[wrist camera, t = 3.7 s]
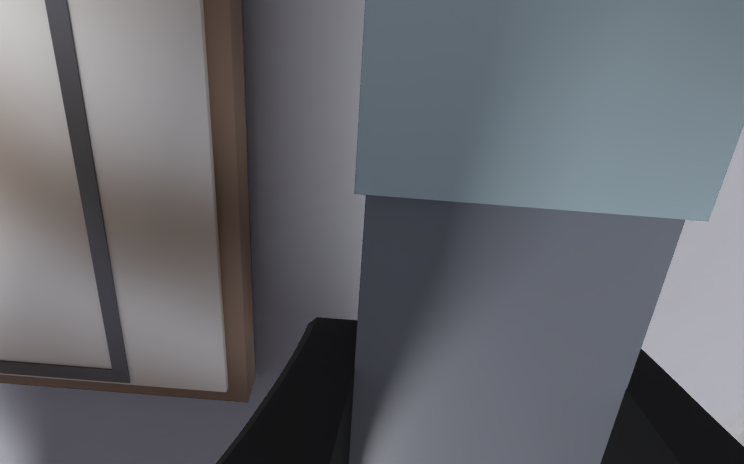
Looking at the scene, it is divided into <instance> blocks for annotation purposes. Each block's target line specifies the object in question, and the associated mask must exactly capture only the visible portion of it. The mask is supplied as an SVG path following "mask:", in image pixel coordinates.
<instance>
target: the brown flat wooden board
mask: <svg viewBox="0 0 744 464" xmlns="http://www.w3.org/2000/svg"><path fill="white" fill-rule="evenodd" d="M254 380H255V351H254V324H253V297H252V270H251V243H250V215H249V188H248V161H247V134H246V107H245V79H244V52H243V25H242V0H0V383H9V384H22V385H35V386H47V387H60V388H72V389H85V390H98V391H110V392H123V393H136V394H148V395H161V396H173V397H186V398H199V399H211V400H224V401H236V402H248V400H249V397H250V393H251V390H252V386H253V383H254Z"/></svg>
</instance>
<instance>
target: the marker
mask: <svg viewBox="0 0 744 464" xmlns="http://www.w3.org/2000/svg"><path fill="white" fill-rule="evenodd" d="M743 126H744V0H365V15H364V33H363V50H362V68H361V86H360V103H359V121H358V139H357V157H356V174H355V192H354V194H363V195H366V201H365V216H364V231H363V246H362V262H361V277H360V292H359V307H358V322H357V337H356V352H355V367H354V368H355V375H354V391H353V406H352V422H351V437H350V452H349V464H600V463H601V460H602V457H603V454H604V451H605V449H606V446H607V443H608V440H609V437H610V434H611V431H612V428H613V425H614V422H615V419H616V416H617V414H618V411H619V408H620V405H621V402H622V399H623V396H624V393H625V390H626V389H627V387H628V384H629V381H630V378H631V375H632V372H633V369H634V367H635V364H636V361H637V358H638V355H639V352H640V349H641V346H642V343H643V341H644V338H645V335H646V332H647V329H648V326H649V323H650V320H651V317H652V315H653V312H654V309H655V306H656V303H657V300H658V297H659V294H660V292H661V289H662V286H663V283H664V280H665V277H666V274H667V271H668V268H669V266H670V263H671V260H672V257H673V254H674V251H675V248H676V245H677V242H678V240H679V237H680V234H681V231H682V228H683V225H684V222H685V220H697V221H709V218H710V215H711V213H712V210H713V207H714V205H715V202H716V199H717V196H718V194H719V191H720V188H721V186H722V183H723V180H724V177H725V175H726V172H727V169H728V166H729V164H730V161H731V158H732V156H733V153H734V150H735V147H736V145H737V142H738V139H739V136H740V134H741V131H742V128H743Z"/></svg>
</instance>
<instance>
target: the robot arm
mask: <svg viewBox="0 0 744 464" xmlns="http://www.w3.org/2000/svg"><path fill="white" fill-rule="evenodd" d="M357 322H358V321H357V320H344V319H331V318H318V317H317V318H316V319H314V320H313V321H312V322H310V323H309V324H308V326H307V328H306V330H305V333H304V335H303V337H302V339H301V340H300V342H299V344H298V346H297V348H296V350H295V351H294V353H293V355H292V357H291V358H290V360H289V362H288V363H287V365H286V367H285V368H284V370H283V371H282V373H281V374H280V376H279V378H278V379H277V381H276V382H275V384H274V385H273V387H272V388H271V390H270V391H269V393H268V394H267V396H266V397H265V398H264V400H263V401H262V403H261V404H260V406H259V407H258V408H257V410H256V411H255V413H254V414H253V416H252V417H251V418H250V420H249V421H248V423H247V424H246V426H245V427H244V428H243V430H242V431H241V432H240V434H239V435H238V436H237V438H236V439H235V440H234V442H233V443H232V444H231V445H230V447H229V448H228V449H227V450H226V452H225V453H224V454H223V455H222V457H221V458H220V459H219V461H218V462H217V463H216V464H349V452H350V437H351V422H352V406H353V391H354V375H355V368H354V367H355V352H356V337H357ZM600 464H744V447H743V446H742V445H741V444H740V443H739V442H738V441H737V440H736V439H735V438H734V437H733V436H732V435H731V434H729V433H728V432H727V431H726V430H725V429H724V428H723V427H722V426H721V425H720V424H719V423H718V422H717V421H716V420H715V419H714V418H713V417H712V416H711V415H710V414H709V413H708V412H706V411H705V410H704V409H703V408H702V407H701V406H700V405H699V404H698V403H697V402H696V401H695V400H694V399H693V398H692V397H691V396H690V395H689V394H688V393H687V392H686V391H685V390H684V389H683V388H682V387H681V386H680V385H679V384H678V383H677V382H676V381H675V380H673V379H672V378H671V377H670V376H669V375H668V374H667V373H666V372H665V371H664V370H663V369H662V368H661V367H660V366H659V365H658V364H657V363H656V362H655V361H654V360H653V359H652V358H651V357H649V356H648V355H647V354H646V353H645V352H644V351H643V350H642V349H640V352H639V355H638V358H637V361H636V364H635V367H634V369H633V372H632V375H631V378H630V381H629V384H628V387H627V389H626V390H625V393H624V396H623V399H622V402H621V405H620V408H619V411H618V414H617V416H616V419H615V422H614V425H613V428H612V431H611V434H610V437H609V440H608V443H607V446H606V449H605V451H604V454H603V457H602V460H601V463H600Z"/></svg>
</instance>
